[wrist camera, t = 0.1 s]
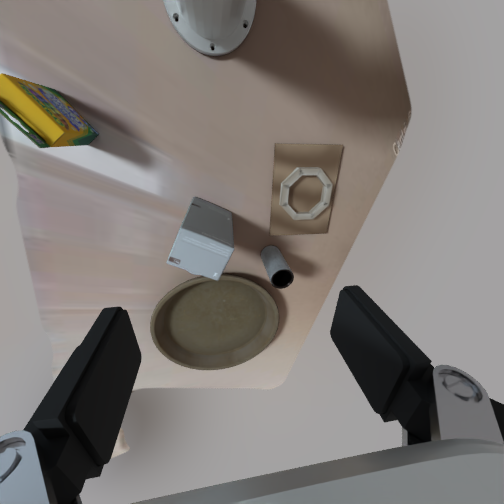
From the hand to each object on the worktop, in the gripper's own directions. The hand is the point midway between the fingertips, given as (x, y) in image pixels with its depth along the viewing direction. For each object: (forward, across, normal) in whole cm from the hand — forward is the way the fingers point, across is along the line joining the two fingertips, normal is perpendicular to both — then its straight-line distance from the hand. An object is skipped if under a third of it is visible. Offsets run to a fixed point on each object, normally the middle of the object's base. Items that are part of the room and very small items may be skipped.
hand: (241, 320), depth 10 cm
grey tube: (+37, -11, +17) cm, 42 cm away
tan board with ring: (+37, -17, +3) cm, 41 cm away
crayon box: (+37, +22, -9) cm, 44 cm away
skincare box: (+37, +3, +8) cm, 38 cm away
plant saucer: (+37, +2, +35) cm, 51 cm away
